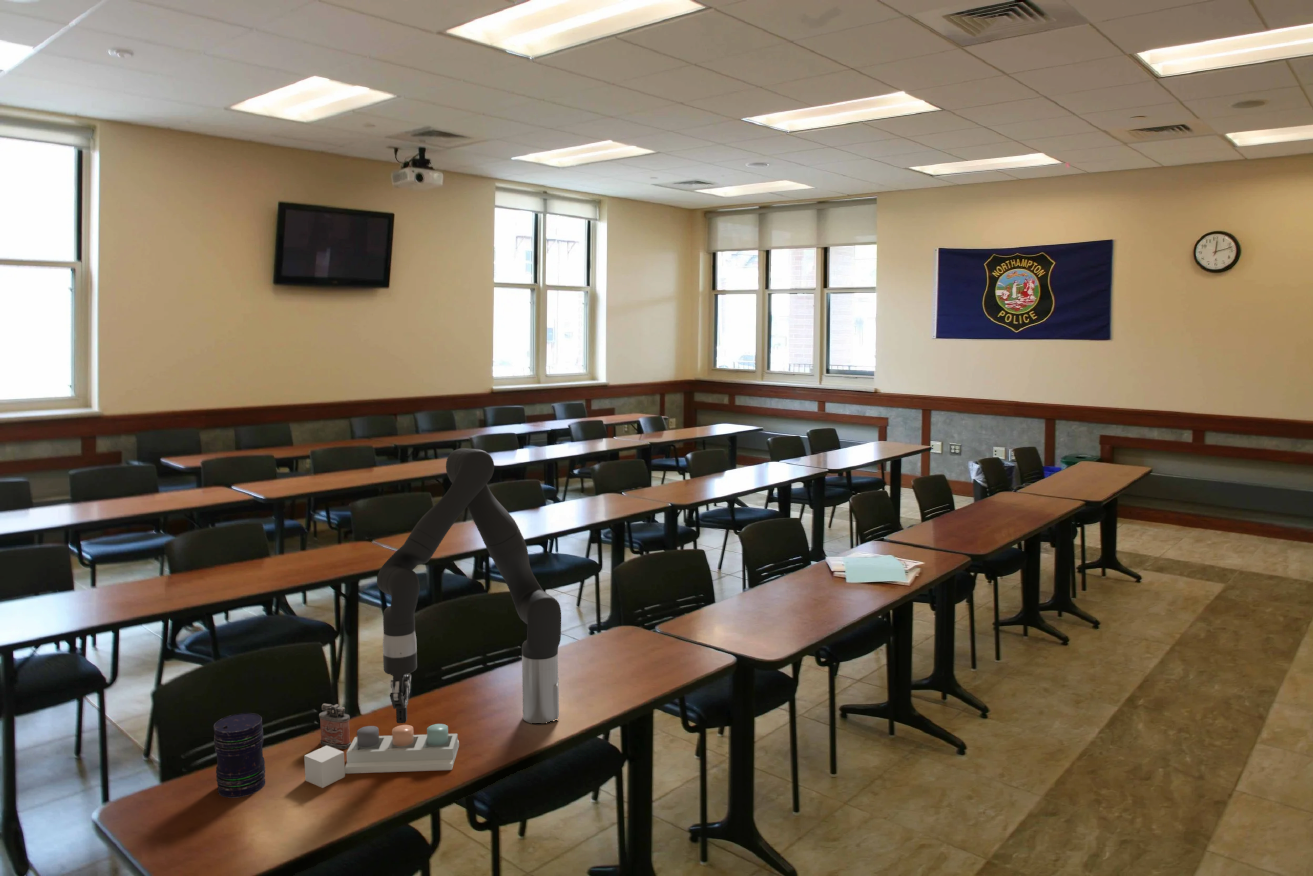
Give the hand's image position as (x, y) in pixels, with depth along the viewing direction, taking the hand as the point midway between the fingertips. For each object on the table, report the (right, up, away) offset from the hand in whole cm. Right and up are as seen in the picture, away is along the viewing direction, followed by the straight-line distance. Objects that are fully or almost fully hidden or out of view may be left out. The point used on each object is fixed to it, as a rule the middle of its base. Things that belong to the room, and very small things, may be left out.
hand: (401, 721), depth 216 cm
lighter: (-18, -8, +9) cm, 22 cm away
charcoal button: (-8, -5, 0) cm, 9 cm away
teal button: (+8, -5, +1) cm, 9 cm away
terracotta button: (0, -5, +1) cm, 5 cm away
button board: (0, -9, +1) cm, 9 cm away
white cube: (-15, -11, -8) cm, 20 cm away
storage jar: (-32, -11, -12) cm, 36 cm away
